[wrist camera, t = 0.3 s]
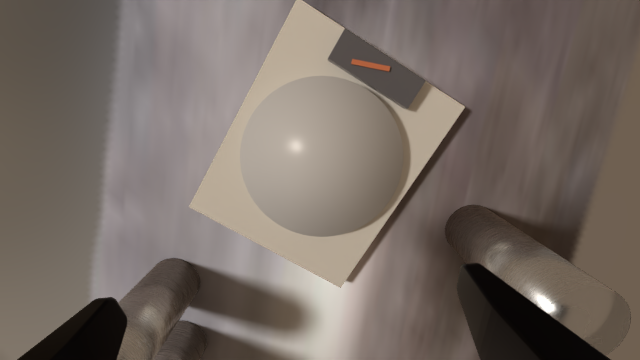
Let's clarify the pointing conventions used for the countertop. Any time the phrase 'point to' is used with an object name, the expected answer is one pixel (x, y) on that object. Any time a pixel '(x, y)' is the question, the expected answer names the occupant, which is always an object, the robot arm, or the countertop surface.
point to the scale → (323, 146)
